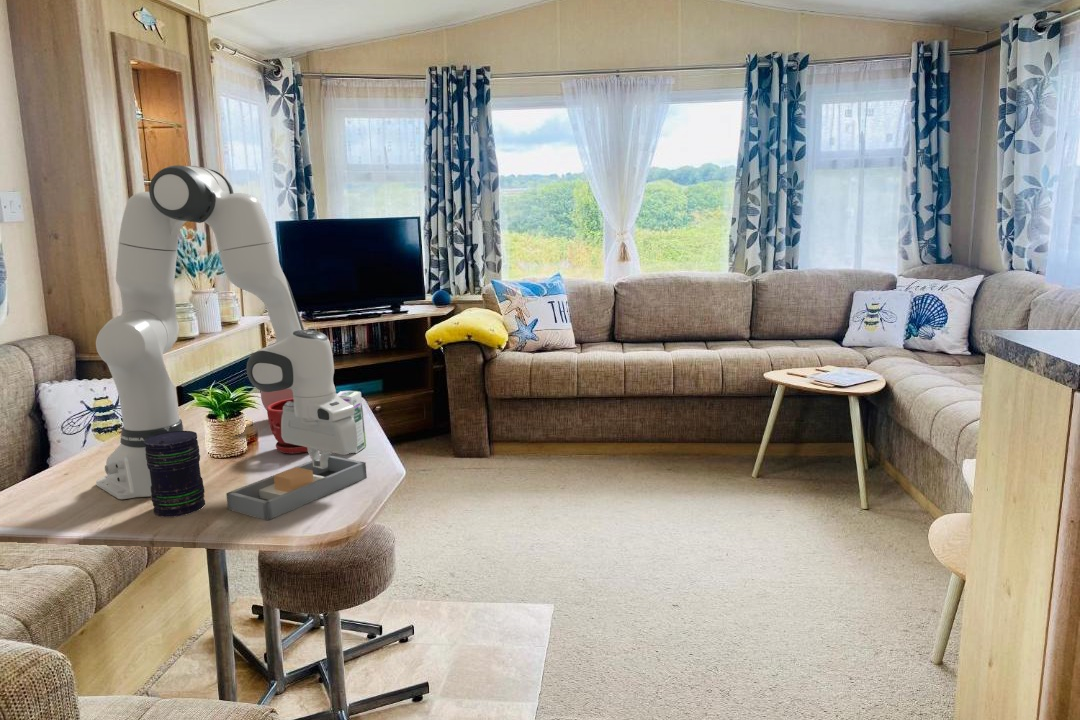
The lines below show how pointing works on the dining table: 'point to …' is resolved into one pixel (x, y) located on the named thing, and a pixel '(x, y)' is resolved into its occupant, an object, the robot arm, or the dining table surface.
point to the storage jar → (175, 473)
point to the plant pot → (275, 424)
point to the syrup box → (356, 415)
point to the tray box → (272, 502)
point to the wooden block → (293, 479)
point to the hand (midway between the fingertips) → (320, 467)
